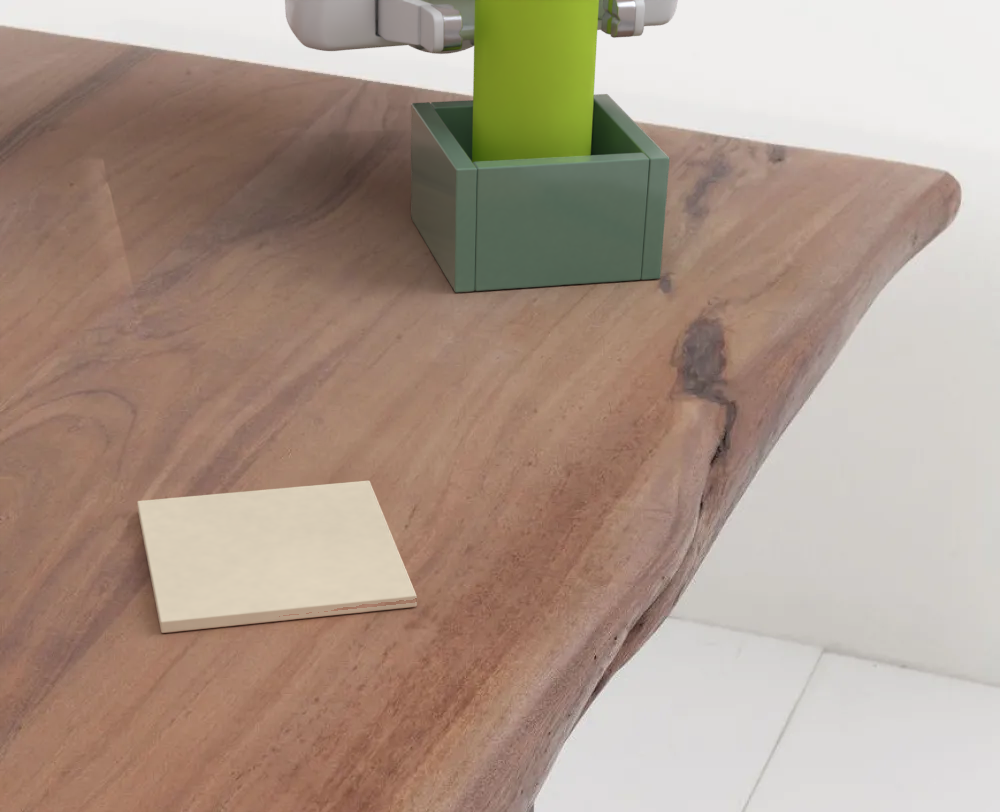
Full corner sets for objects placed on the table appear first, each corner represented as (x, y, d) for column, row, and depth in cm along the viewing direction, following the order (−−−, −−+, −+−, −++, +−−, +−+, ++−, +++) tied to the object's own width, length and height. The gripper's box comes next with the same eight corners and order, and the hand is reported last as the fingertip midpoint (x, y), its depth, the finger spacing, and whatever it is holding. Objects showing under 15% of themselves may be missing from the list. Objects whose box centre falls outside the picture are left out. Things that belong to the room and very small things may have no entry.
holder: (454, 293, 91) (456, 169, 87) (410, 218, 99) (410, 102, 95) (660, 279, 93) (670, 157, 89) (601, 207, 101) (607, 93, 97)
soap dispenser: (502, 278, 92) (515, -172, 81) (454, 230, 98) (459, -198, 86) (612, 265, 94) (640, -177, 82) (559, 219, 99) (578, -203, 88)
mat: (161, 633, 65) (160, 621, 65) (137, 512, 72) (136, 500, 72) (417, 607, 67) (417, 595, 67) (369, 491, 74) (369, 479, 74)
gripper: (244, -95, 94) (330, -31, 84) (613, -114, 101) (735, -57, 91) (250, 36, 98) (333, 113, 88) (606, 9, 105) (722, 78, 94)
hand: (541, 26), depth 89 cm, fingers open, 8 cm apart
